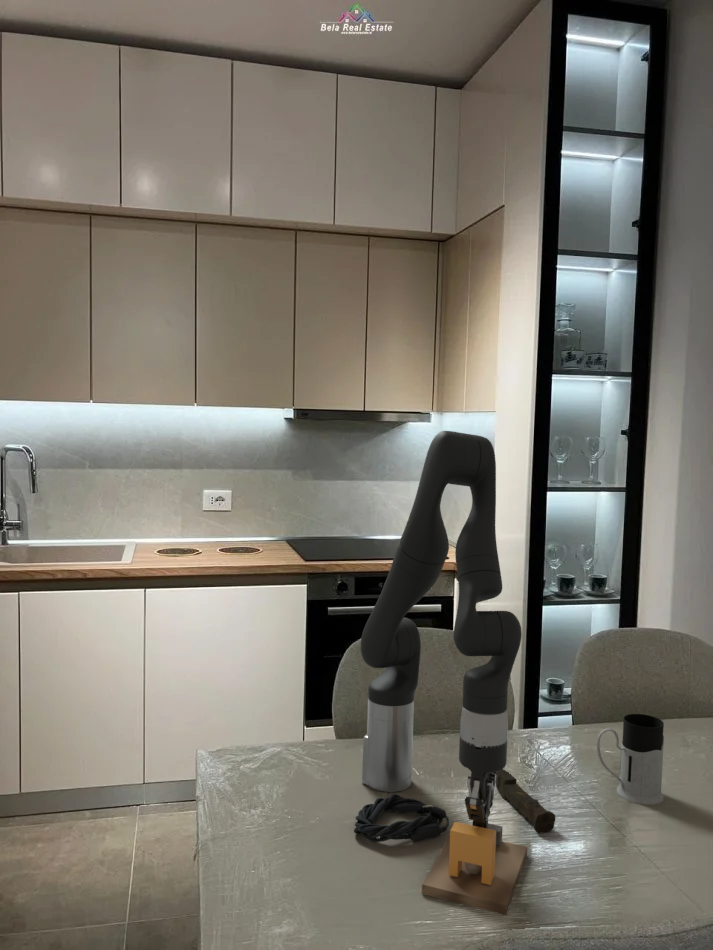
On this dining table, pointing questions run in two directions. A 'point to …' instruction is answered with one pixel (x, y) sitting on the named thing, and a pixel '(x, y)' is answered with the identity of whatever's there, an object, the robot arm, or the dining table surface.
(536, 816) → the dark brown tapered rod
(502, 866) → the wooden base plate
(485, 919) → the dining table surface
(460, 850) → the notched block
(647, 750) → the glass holder
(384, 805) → the cable
